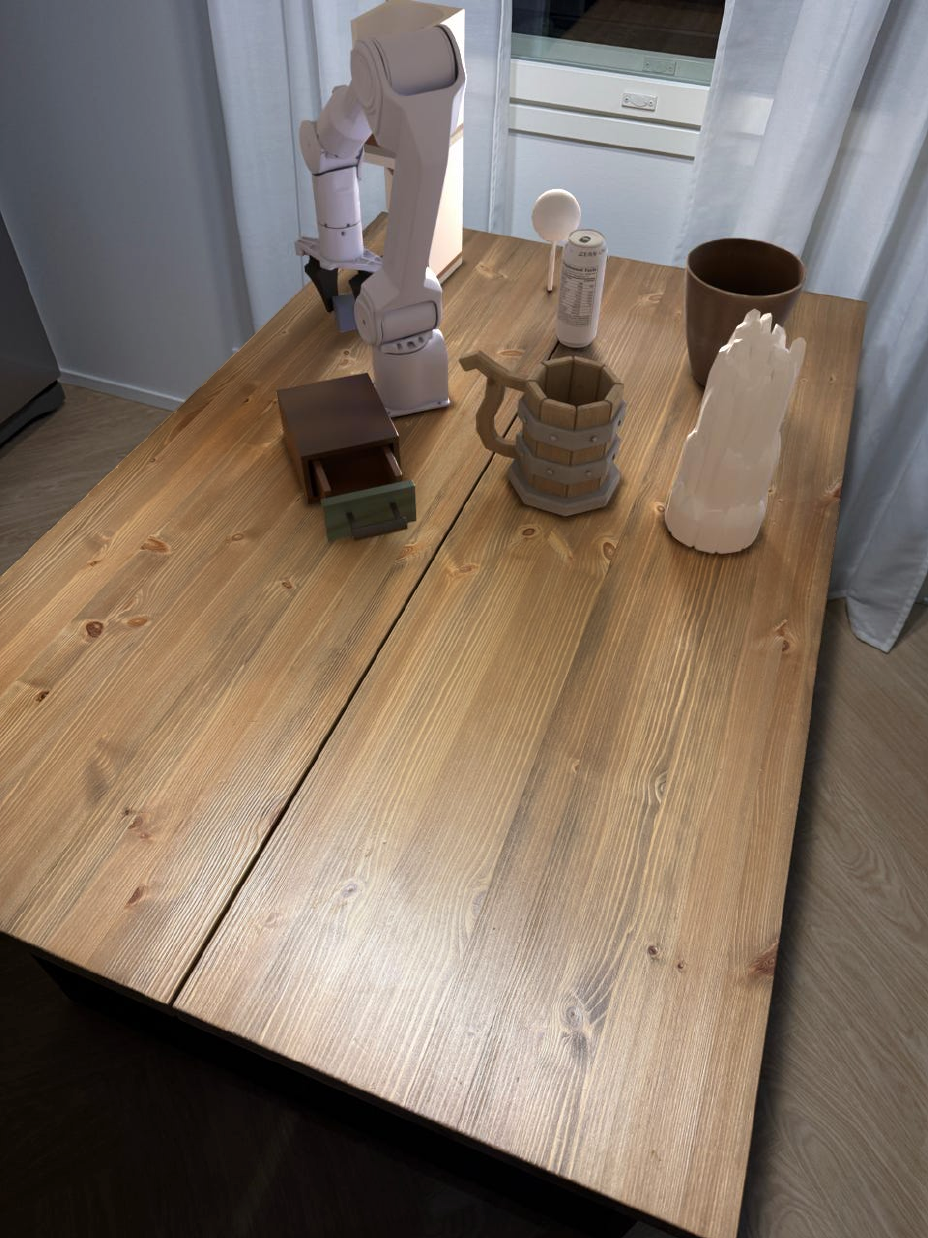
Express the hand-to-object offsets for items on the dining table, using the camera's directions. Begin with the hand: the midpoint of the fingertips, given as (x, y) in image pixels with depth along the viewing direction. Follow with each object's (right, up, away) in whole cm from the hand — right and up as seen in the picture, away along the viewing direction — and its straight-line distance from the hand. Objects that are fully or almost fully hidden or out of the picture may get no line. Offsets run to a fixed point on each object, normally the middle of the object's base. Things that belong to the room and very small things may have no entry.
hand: (348, 314), depth 126 cm
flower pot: (+52, -9, -2) cm, 53 cm away
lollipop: (+30, +8, +13) cm, 34 cm away
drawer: (+5, -30, -22) cm, 37 cm away
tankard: (+25, -25, -16) cm, 39 cm away
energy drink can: (+33, -2, +4) cm, 33 cm away
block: (0, -1, +1) cm, 1 cm away
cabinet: (+1, -23, -15) cm, 27 cm away
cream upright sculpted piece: (+45, -32, -21) cm, 59 cm away
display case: (+9, +12, +16) cm, 22 cm away
